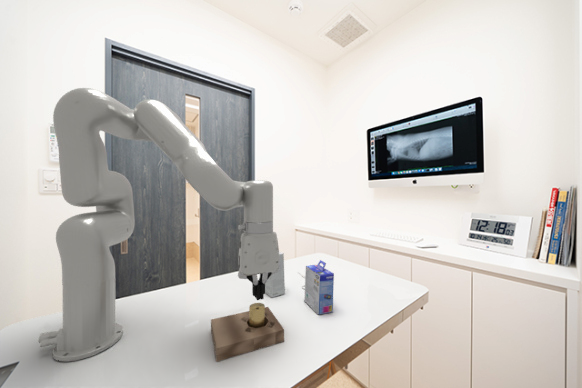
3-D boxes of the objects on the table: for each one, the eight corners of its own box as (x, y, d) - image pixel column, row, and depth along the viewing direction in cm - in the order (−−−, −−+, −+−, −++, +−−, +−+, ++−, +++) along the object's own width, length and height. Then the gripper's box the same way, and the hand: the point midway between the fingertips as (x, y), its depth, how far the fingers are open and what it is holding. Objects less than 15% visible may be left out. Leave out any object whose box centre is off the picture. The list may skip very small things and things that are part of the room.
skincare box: (285, 294, 81) (285, 253, 81) (270, 298, 78) (270, 255, 78) (273, 286, 88) (274, 248, 88) (259, 289, 85) (260, 250, 85)
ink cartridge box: (334, 312, 70) (334, 265, 69) (318, 316, 67) (319, 268, 67) (318, 298, 79) (318, 257, 78) (304, 301, 76) (304, 258, 76)
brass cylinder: (251, 339, 56) (251, 312, 56) (247, 330, 60) (247, 304, 60) (266, 335, 58) (266, 308, 58) (261, 326, 62) (262, 301, 62)
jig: (216, 361, 49) (216, 348, 49) (210, 330, 60) (211, 319, 60) (284, 341, 56) (284, 329, 56) (267, 316, 67) (268, 306, 67)
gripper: (232, 232, 52) (232, 311, 52) (290, 228, 58) (290, 297, 59) (226, 227, 59) (227, 297, 59) (279, 224, 65) (279, 286, 65)
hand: (258, 297), depth 59 cm, fingers closed
